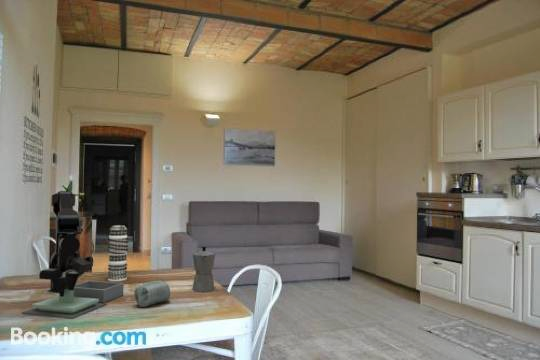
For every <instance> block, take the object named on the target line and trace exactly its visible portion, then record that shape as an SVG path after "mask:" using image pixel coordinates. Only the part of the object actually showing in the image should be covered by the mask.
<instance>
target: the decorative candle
mask: <svg viewBox="0 0 540 360" xmlns="http://www.w3.org/2000/svg"><path fill="white" fill-rule="evenodd" d="M127 233H128V228H127V227H126V226H125V225H123V224H121V225H120V224H115V225H111V227H110V228H109V236H108V237H107V240H108V241H107V245H108V246H107V248H108V249H107V252H108V253H107V255H108V256H109V257H108V258H109V259H108V265H107V270H108V271H107V282H121V281H123V282H124V281H127V279H128V270H127V269H128V267H127V266H128V263H127V261H128V259H127V255H128V252H127V251H129V248H128V247H129V245H127V244H128V243H129V241H128V240H130V238H129V237H128V234H127Z"/></svg>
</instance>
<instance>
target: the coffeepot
mask: <svg viewBox="0 0 540 360" xmlns="http://www.w3.org/2000/svg"><path fill="white" fill-rule="evenodd" d="M201 249H202V250H200V251H198V252H195V253H193V254H192V260H193V265H194V266H193V267H194V270H195V274H194V277H193V283H192V288H191V289H192V291H193V292H197V293H208V292H212V291H214V290H215V282H214V275H213V272H212V271H213V269H214V264H215V258H216V257H215V256H216V253H214V252H212V251H206V249H207V247H206V246H202V247H201Z"/></svg>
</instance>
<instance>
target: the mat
mask: <svg viewBox="0 0 540 360" xmlns="http://www.w3.org/2000/svg"><path fill="white" fill-rule="evenodd" d="M107 305H108V304H107V303H104V304H102V303H94V304H92V306H91V307H88V308H86V309H83V310H80V311H78V312H75V313H73V314H72V313H62V312H53V311H43V310H39V308H31V309H28V310H25V311H22V312H21V314H23V315H30V316H31V315H32V316H33V315H34V316H41V317H52V318H60V319H71V320H73V319H77V318H78V317H80V316H83V315H86V314H88V313H90V312H93V311H95V310H97V309H100V308H102V307H105V306H107Z"/></svg>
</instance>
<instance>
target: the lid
mask: <svg viewBox="0 0 540 360" xmlns="http://www.w3.org/2000/svg"><path fill="white" fill-rule="evenodd" d="M97 302H99V299H94V298H83V297H74V290H67V289H65V292H64V296H63V297H61V296H60V295H59V294H58V295H57V296H53V297H51V298H48V299H44V300H42V301H38V302H35V303H32V304H31V308H32V309H34V308H39V310H43V311H53V312H62V313H72V314H73V313H75V312H78V311H80V310H83V309H86V308H88V307H91V306H92V304H94V303H97Z"/></svg>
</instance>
